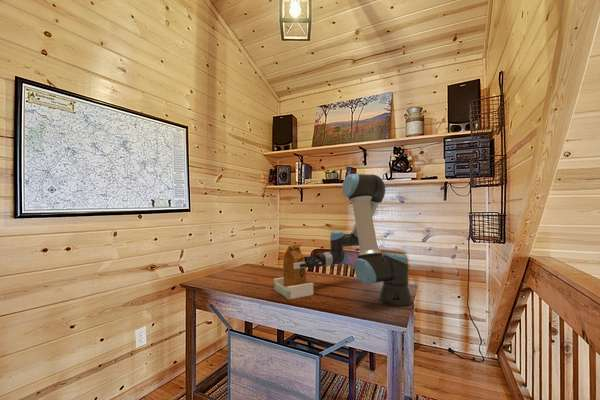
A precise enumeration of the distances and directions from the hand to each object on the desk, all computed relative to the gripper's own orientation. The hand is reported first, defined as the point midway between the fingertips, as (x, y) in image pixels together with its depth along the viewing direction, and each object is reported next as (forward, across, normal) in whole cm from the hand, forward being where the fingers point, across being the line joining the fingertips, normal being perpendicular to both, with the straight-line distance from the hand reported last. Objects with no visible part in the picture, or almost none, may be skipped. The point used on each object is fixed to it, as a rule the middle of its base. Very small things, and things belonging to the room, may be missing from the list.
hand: (288, 263), depth 151 cm
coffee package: (-4, 0, -12) cm, 13 cm away
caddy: (-3, 0, -16) cm, 16 cm away
